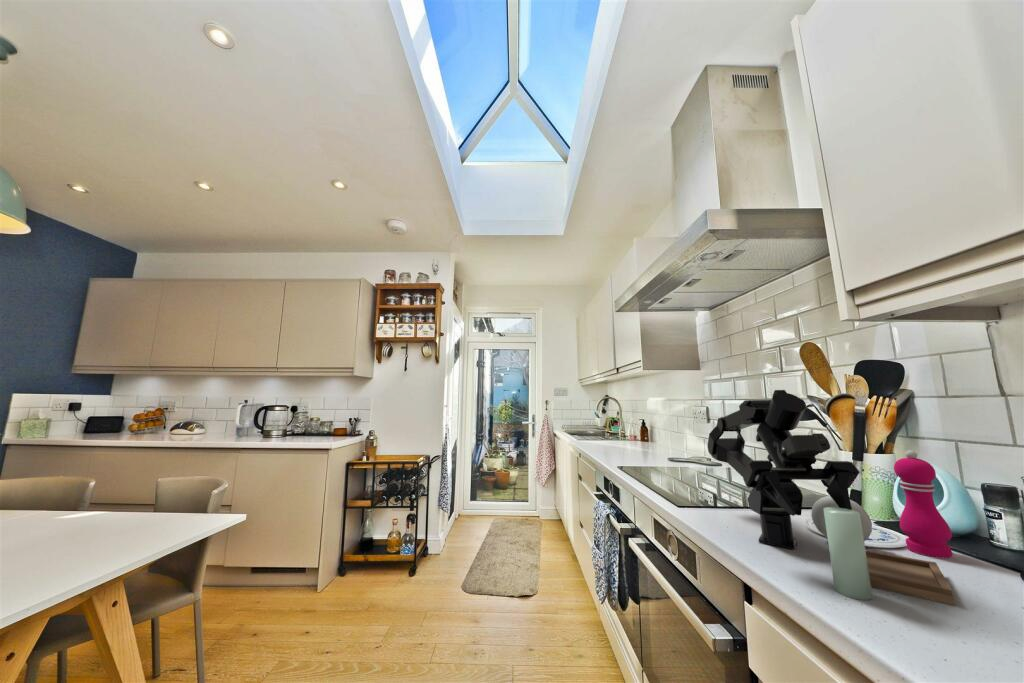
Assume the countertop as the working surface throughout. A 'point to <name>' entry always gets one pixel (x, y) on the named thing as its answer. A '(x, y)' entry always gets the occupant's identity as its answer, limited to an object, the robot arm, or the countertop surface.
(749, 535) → the countertop surface
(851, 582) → the sage cylinder
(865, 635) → the countertop surface
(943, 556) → the pepper mill
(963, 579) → the countertop surface
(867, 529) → the donut
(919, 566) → the walnut tray
